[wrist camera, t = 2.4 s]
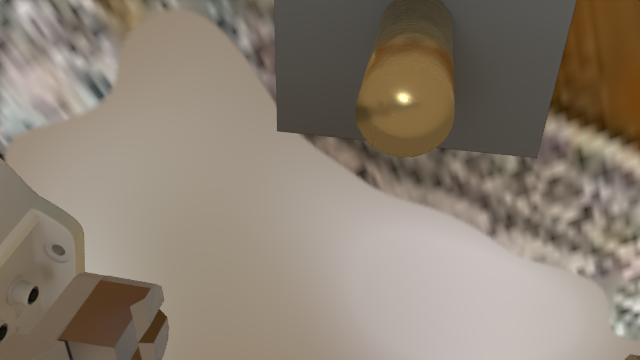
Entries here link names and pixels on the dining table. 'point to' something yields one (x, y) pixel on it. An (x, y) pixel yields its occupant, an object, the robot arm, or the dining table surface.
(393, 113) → the brass pin
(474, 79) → the mat
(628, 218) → the dining table surface
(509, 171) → the dining table surface
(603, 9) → the dining table surface
